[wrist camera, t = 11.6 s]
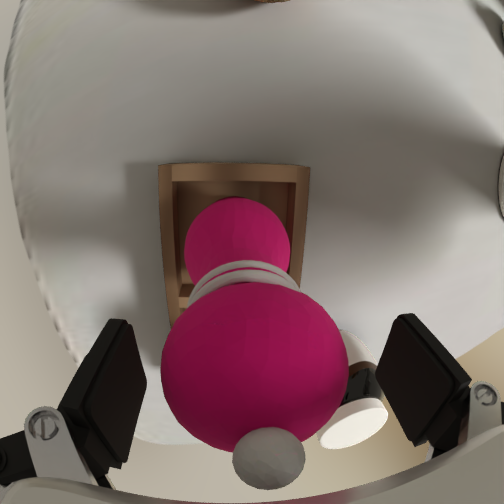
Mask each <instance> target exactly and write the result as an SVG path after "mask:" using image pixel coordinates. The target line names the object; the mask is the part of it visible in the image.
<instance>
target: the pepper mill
mask: <svg viewBox="0 0 504 504" xmlns="http://www.w3.org/2000/svg"><path fill="white" fill-rule="evenodd" d="M184 259H185V264H186V268H187V271H188V273H189V276H190V278H191V280H192V282H193V284H194V285H195V287H194V289H193V291H192V293H191V295H190V297H189V300H188V304H187V309H186V310H185V311H184V312H183V313H182V314H181V315H180V316H179V317H178V318H177V319H176V321H175V323H174V325H173V327H172V329H171V331H170V333H169V335H168V337H167V340H166V343H165V345H164V348H163V351H162V359H161V370H160V371H161V382H162V387H163V392H164V397H165V399H166V401H167V403H168V405H169V407H170V409H171V411H172V413H173V414H174V416H175V418H176V419H177V421H178V422H179V423H180V424H181V425H182V426H183V427H184V428H185V429H186V430H187V431H188V432H189V433H191V434H192V435H193V436H194V437H196V438H197V439H199V440H201V441H203V442H205V443H206V444H208V445H210V446H212V447H214V448H217V449H221V450H224V451H228V452H233V460H232V463H233V466H234V469H235V472H236V473H237V475H238V476H239V477H240V479H241V480H242V481H244V482H245V483H246V484H248V485H250V486H252V487H255V488H257V489H264V490H272V489H278V488H282V487H285V486H286V485H288V484H290V483H291V482H293V481H294V480H295V479H296V478H297V477H298V476H299V475H300V473H301V472H302V470H303V467H304V464H305V452H304V448H303V445H302V443H301V442H303V441H305V440H306V439H308V438H309V437H311V436H312V435H314V434H315V433H316V432H317V431H318V430H320V429H321V428H322V427H323V426H324V425H325V424H326V423H327V422H328V421H329V420H330V419H331V417H332V416H333V414H334V413H335V412H336V410H337V409H338V407H339V406H340V404H341V401H342V399H343V397H344V394H345V392H346V388H347V382H348V377H349V361H348V356H347V351H346V347H345V344H344V342H343V339H342V336H341V334H340V331H339V329H338V328H337V326H336V324H335V322H334V321H333V320H332V318H331V317H330V316H329V315H328V313H327V312H326V311H325V310H324V309H323V307H322V306H320V305H319V304H318V303H317V302H315V301H314V300H313V299H311V298H310V297H309V296H307V295H306V294H303V293H301V291H300V289H299V287H298V286H297V284H296V282H295V281H294V280H293V279H292V278H291V277H290V276H289V275H288V274H287V273H286V272H287V269H288V266H289V259H290V243H289V239H288V235H287V233H286V231H285V228H284V226H283V224H282V223H281V221H280V220H279V218H278V217H277V215H275V214H274V213H273V212H272V211H271V210H270V209H269V208H267V207H266V206H264V205H263V204H261V203H258V202H256V201H253V200H250V199H247V198H244V197H237V196H232V197H226V198H222V199H220V200H218V201H216V202H214V203H213V204H211V205H210V206H208V207H207V208H205V209H204V210H203V211H202V212H201V213H200V214H199V215H198V216H197V217H196V218H195V219H194V221H193V222H192V224H191V226H190V228H189V230H188V232H187V236H186V240H185V249H184Z"/></svg>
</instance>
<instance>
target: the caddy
mask: <svg viewBox="0 0 504 504" xmlns="http://www.w3.org/2000/svg"><path fill="white" fill-rule="evenodd" d="M158 179H159V210H160V229H161V244H162V256H163V267H164V278H165V287H166V296H167V304H168V311H169V319H170V326H171V329H172V327H173V325H174V323H175V321H176V319H177V318H178V317H179V316H180V315H181V314H182V313H183V312H184V311H185V310H186V309H187V304H188V300H189V297H190V295H191V293H192V291H193V289H194V287H195V285H194V284H193V282H192V280H191V278H190V276H189V273H188V271H187V268H186V264H185V259H184V249H185V240H186V236H187V232H188V230H189V228H190V226H191V224H192V222H193V221H194V219H195V218H196V217H197V216H198V215H199V214H200V213H201V212H202V211H203V210H204V209H205V208H207V207H208V206H210V205H211V204H213V203H214V202H216V201H218V200H220V199H222V198H226V197H232V196H237V197H244V198H247V199H250V200H253V201H256V202H258V203H261V204H263V205H264V206H266V207H267V208H269V209H270V210H271V211H272V212H273V213H274V214H275V215H277V217H278V218H279V220H280V221H281V223H282V224H283V226H284V228H285V231H286V233H287V235H288V239H289V243H290V259H289V266H288V269H287V272H286V273H287V274H288V275H289V276H290V277H291V278H292V279H293V280H294V281H295V282H296V284H297V286H298V287H299V289H300V281H301V272H302V263H303V253H304V243H305V232H306V221H307V208H308V195H309V180H310V167H305V166H299V165H286V164H266V163H171V164H163V165H158Z"/></svg>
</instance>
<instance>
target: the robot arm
mask: <svg viewBox="0 0 504 504" xmlns="http://www.w3.org/2000/svg"><path fill="white" fill-rule="evenodd" d="M499 202H500V207H501V211H502V214H503V217H504V156H503V159H502V162H501V167H500V173H499ZM375 377H376V380H377V382H378V384H379V385H380V387H381V389H382V391H383V393H384V395H385V396H386V398H387V400H388V402H389V404H390V406H391V408H392V409H393V411H394V413H395V415H396V417H397V419H398V421H399V423H400V425H401V426H402V428H403V431H404V433H405V435H406V437H407V438H408V440H409V441H412V443H413V445H414V446H415V447H416V446H418V445H421V444H423V443H426V442H427V440H429V443H430V445H429V449H428V453H427V457H426V460H425V462H424V463H422V464H420V465H418V466H415V467H413V468H410V469H408V470H405V471H403V472H400V473H398V474H395V475H392V476H389V477H386V478H384V479H380V480H377V481H374V482H371V483H368V484H364V485H361V486H357V487H353V488H349V489H345V490H341V491H337V492H333V493H328V494H323V495H318V496H312V497H306V498H299V499H292V500H285V501H274V502H261V503H235V504H504V402H501V400H500V394H499V392H498V390H497V389H496V388H495V387H494V386H493V385H492V384H490V383H488V382H484V381H479V382H476V383H474V384H473V385H472V387H471V388H469V386H468V385H469V384H470V382H471V380H472V379H471V378H470V377H469V375H468V374H467V373H466V372H465V370H464V369H463V368H462V367H461V366H460V364H459V363H458V362H457V361H456V360H455V359H454V357H453V356H452V355H451V354H450V353H449V352H448V350H447V349H446V348H445V347H444V346H443V345H442V344H441V343H440V341H439V340H438V339H437V338H436V337H435V336H434V335H433V334H432V333H431V331H430V330H429V329H428V328H427V327H426V326H425V325H424V324H423V323H422V322H421V321H420V320H419V319H418V317H417V316H416V315H415V314H413V313H409V314H401V315H399V316H398V317H397V319H395V320H394V322H393V325H392V328H391V331H390V334H389V336H388V339H387V342H386V345H385V348H384V350H383V353H382V355H381V358H380V361H379V363H378V366H377V368H376V371H375ZM146 387H147V380H146V376H145V372H144V369H143V366H142V362H141V358H140V355H139V351H138V347H137V343H136V339H135V335H134V331H133V327H132V325H131V324H128V323H127V321H126V320H123V319H109V320H108V322H107V323H106V325H105V327H104V328H103V330H102V331H101V333H100V335H99V336H98V338H97V340H96V341H95V343H94V345H93V346H92V348H91V350H90V351H89V353H88V354H87V355H86V356H85V358H84V360H83V361H82V363H81V365H80V367H79V368H78V370H77V372H76V374H75V376H74V377H73V379H72V381H71V383H70V385H69V387H68V389H67V391H66V392H65V394H64V396H63V398H62V400H61V402H60V404H59V406H58V408H57V409H54V408H52V407H46V406H44V407H39V408H37V409H34V410H33V411H32V412H30V413H29V415H28V416H27V418H26V419H25V424H24V430H23V431H20V432H18V433H15V434H12V435H10V436H7V437H3V438H1V439H0V504H229V503H199V502H186V501H177V500H169V499H161V498H154V497H148V496H142V495H137V494H132V493H127V492H123V491H118V490H116V489H115V487H114V485H113V484H112V482H111V480H110V479H109V477H108V475H107V474H108V471H109V467H113V468H117V469H121V466H122V462H123V463H126V462H127V460H128V456H129V452H130V447H131V444H132V440H133V436H134V432H135V428H136V424H137V420H138V416H139V413H140V409H141V405H142V402H143V398H144V395H145V391H146ZM232 504H234V503H232Z"/></svg>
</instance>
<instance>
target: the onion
mask: <svg viewBox="0 0 504 504" xmlns="http://www.w3.org/2000/svg"><path fill="white" fill-rule="evenodd" d="M256 1H261V2H267V3H275V2H285V1H289V0H256Z"/></svg>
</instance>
